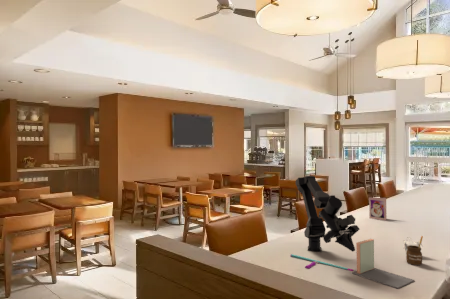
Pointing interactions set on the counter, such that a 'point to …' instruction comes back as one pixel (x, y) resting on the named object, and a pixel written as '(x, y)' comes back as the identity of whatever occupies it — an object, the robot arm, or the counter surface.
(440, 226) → the counter surface
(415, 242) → the elephant figurine
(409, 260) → the utensil holder
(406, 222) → the counter surface
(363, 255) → the ceramic tile
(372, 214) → the greeting card
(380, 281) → the rubber mat
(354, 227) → the robot arm
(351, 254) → the counter surface
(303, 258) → the squeegee
